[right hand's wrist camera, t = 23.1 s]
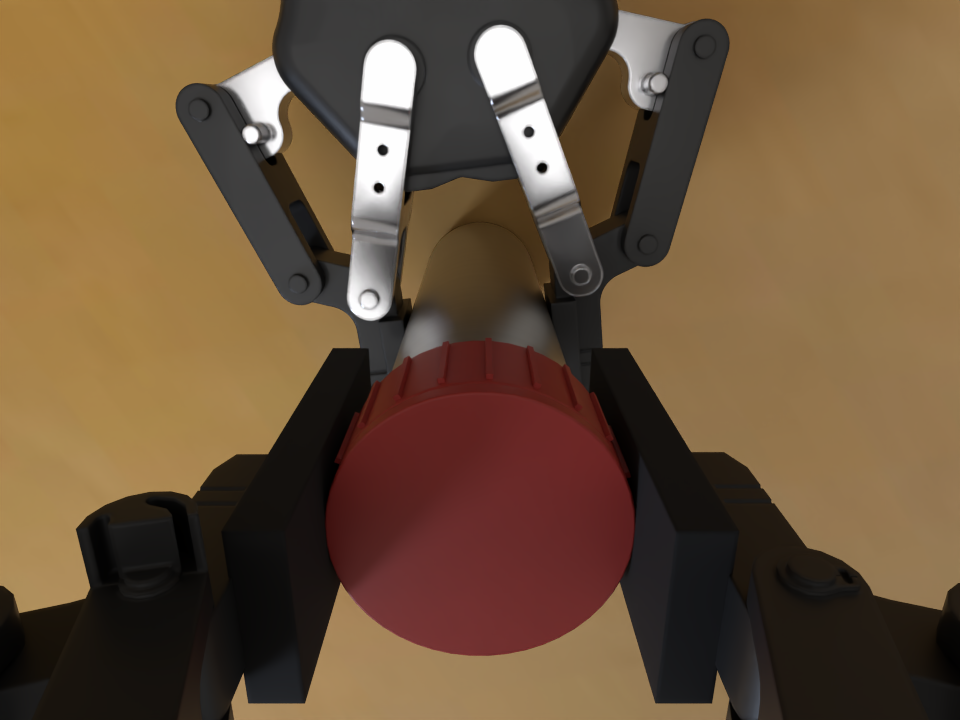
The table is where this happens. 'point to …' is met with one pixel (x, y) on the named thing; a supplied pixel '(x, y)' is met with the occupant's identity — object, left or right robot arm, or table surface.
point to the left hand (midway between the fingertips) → (491, 414)
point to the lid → (480, 501)
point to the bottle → (480, 295)
